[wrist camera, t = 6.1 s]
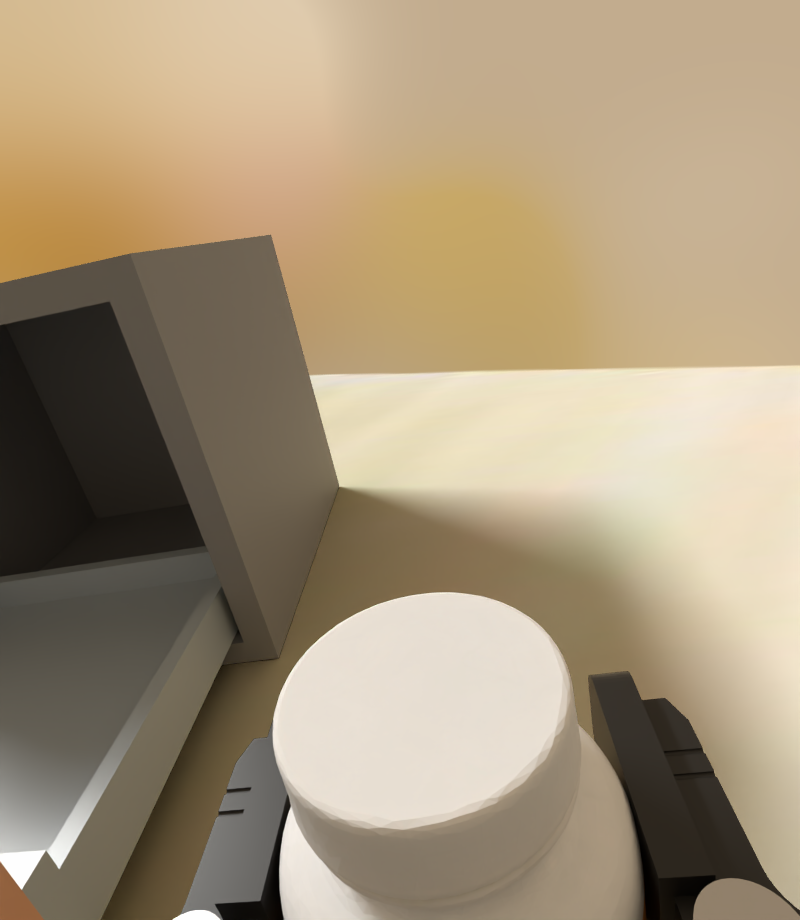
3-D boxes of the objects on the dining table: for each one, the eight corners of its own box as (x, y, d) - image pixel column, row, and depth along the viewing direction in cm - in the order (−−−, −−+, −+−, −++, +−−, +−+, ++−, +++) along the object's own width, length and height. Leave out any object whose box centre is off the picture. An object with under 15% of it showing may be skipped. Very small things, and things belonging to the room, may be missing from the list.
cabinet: (-98, 703, 26) (-347, 362, 19) (96, 524, 40) (-11, 298, 34) (278, 657, 23) (129, 253, 17) (339, 486, 38) (270, 234, 32)
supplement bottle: (682, 984, 12) (681, 601, 8) (607, 1414, 8) (532, 1065, 4) (455, 857, 15) (376, 541, 11) (319, 1117, 11) (127, 765, 7)
